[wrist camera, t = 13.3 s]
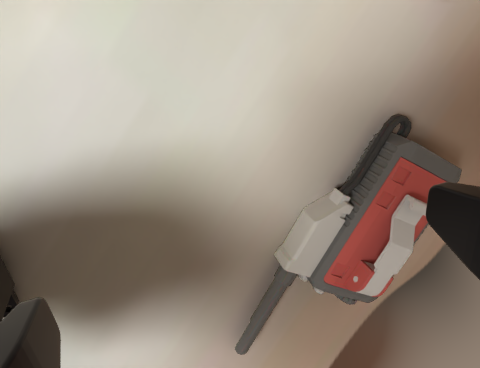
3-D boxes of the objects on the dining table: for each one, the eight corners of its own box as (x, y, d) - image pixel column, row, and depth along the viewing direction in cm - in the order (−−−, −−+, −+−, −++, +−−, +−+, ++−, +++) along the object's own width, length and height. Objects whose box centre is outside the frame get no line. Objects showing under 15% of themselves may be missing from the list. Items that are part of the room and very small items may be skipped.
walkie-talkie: (362, 94, 23) (221, 336, 28) (412, 110, 19) (238, 387, 24) (446, 145, 27) (309, 350, 32) (501, 167, 23) (336, 396, 28)
